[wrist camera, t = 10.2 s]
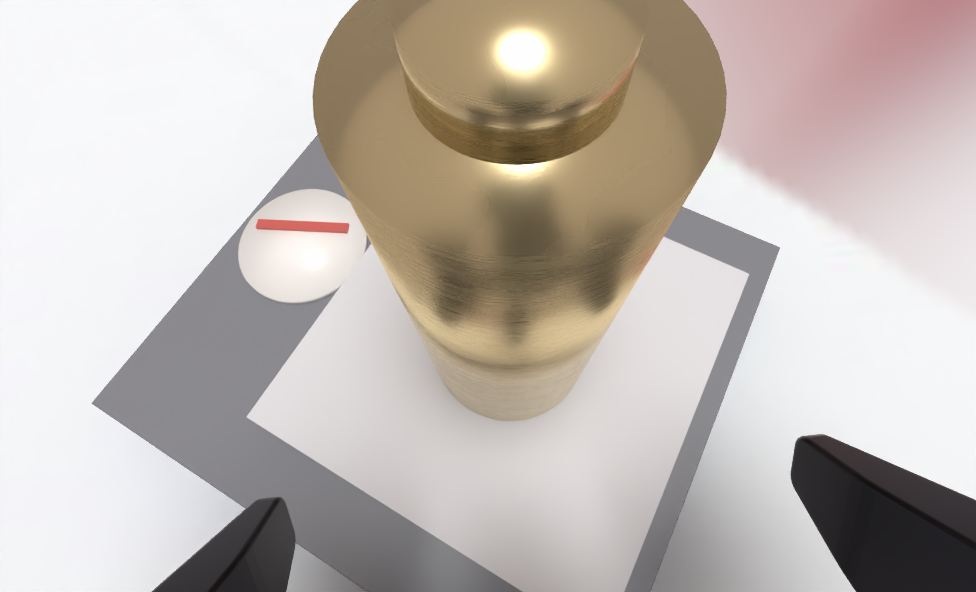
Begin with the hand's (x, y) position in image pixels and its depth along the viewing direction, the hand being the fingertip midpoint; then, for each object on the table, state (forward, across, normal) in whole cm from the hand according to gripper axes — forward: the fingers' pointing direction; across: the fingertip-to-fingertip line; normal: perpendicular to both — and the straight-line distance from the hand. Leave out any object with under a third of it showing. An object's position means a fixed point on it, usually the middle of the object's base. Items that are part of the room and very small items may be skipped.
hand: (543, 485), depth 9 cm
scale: (+13, +2, +4) cm, 13 cm away
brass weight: (+9, 0, +2) cm, 9 cm away
